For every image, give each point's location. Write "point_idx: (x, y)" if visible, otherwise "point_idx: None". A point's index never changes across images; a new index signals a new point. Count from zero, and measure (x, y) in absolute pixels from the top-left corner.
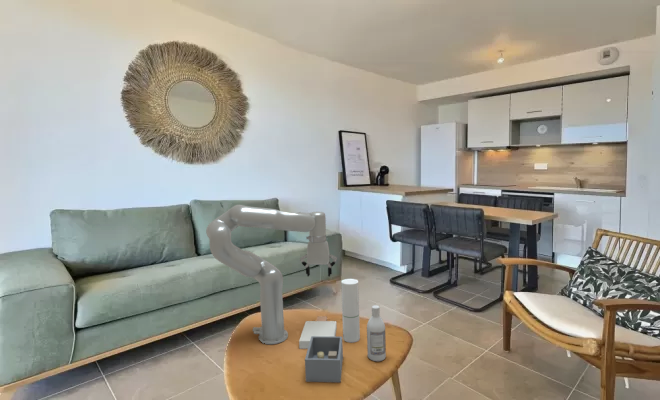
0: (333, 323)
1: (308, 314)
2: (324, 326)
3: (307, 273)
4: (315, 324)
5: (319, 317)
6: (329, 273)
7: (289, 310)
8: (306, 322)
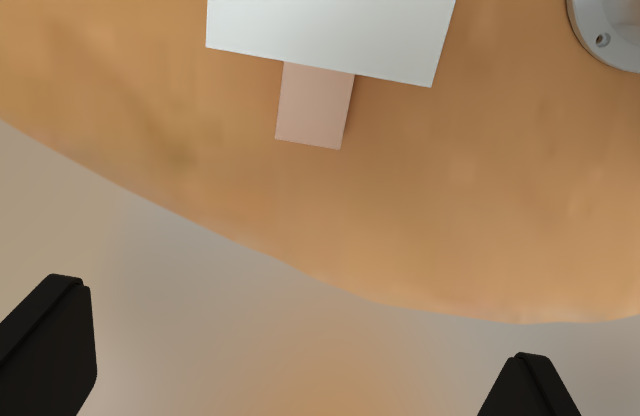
0: (226, 9)
1: (387, 250)
2: None
3: (570, 408)
4: (365, 16)
5: (327, 129)
6: (8, 320)
7: (490, 312)
8: (430, 62)
